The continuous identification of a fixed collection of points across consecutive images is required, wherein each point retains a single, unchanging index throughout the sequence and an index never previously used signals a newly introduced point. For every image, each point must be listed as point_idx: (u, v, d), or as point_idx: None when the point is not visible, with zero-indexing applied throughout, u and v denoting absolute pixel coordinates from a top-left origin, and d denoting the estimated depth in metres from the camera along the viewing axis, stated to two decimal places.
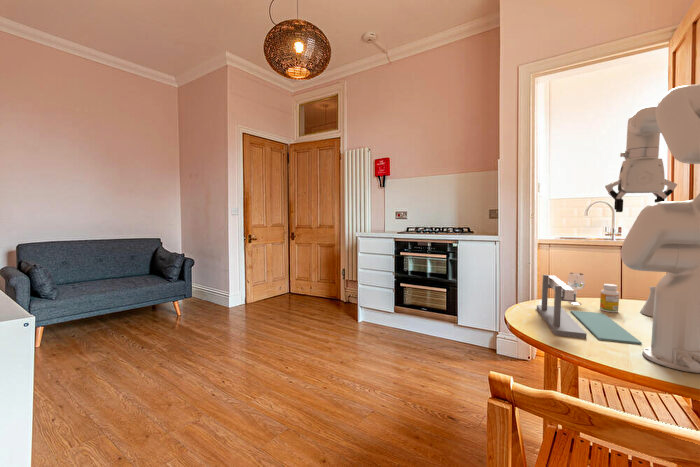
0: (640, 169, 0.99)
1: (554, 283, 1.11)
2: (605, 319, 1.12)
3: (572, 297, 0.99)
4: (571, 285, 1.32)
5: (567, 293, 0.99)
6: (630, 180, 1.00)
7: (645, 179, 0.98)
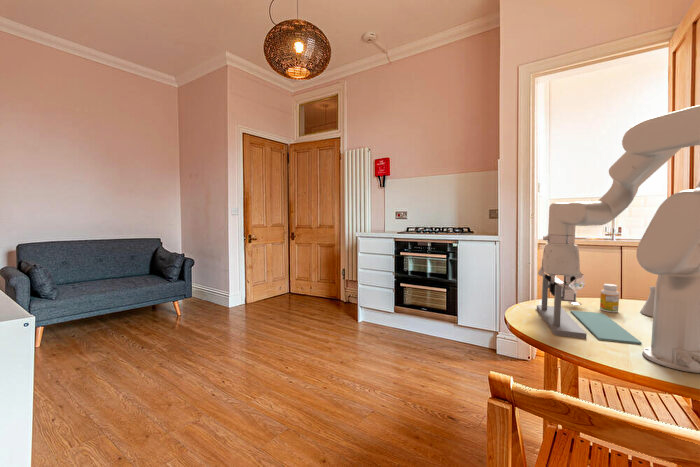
0: (558, 254, 1.07)
1: None
2: (605, 319, 1.12)
3: (572, 297, 0.99)
4: (571, 285, 1.32)
5: (567, 292, 0.99)
6: (550, 263, 1.08)
7: (563, 263, 1.07)
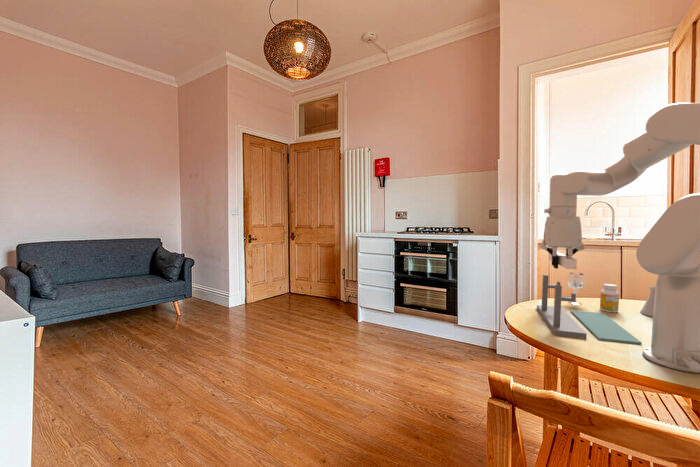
0: (560, 225, 1.07)
1: None
2: (605, 319, 1.12)
3: (575, 266, 0.98)
4: (571, 285, 1.32)
5: (570, 262, 0.98)
6: (552, 235, 1.07)
7: (564, 235, 1.06)
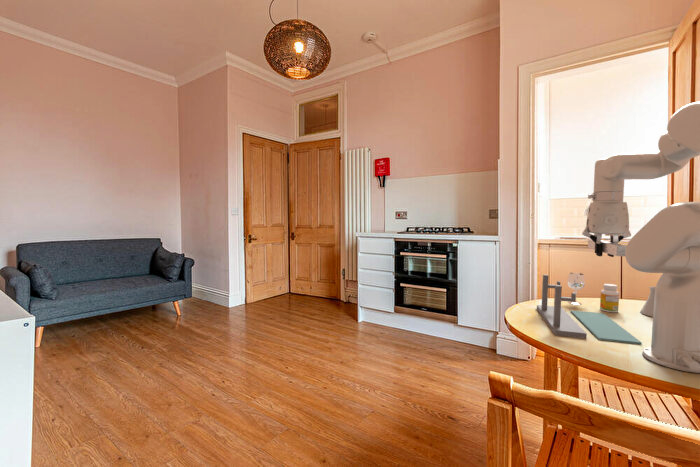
0: (606, 211, 1.02)
1: None
2: (605, 319, 1.12)
3: None
4: (571, 285, 1.32)
5: (619, 248, 0.94)
6: (596, 222, 1.03)
7: (611, 221, 1.02)
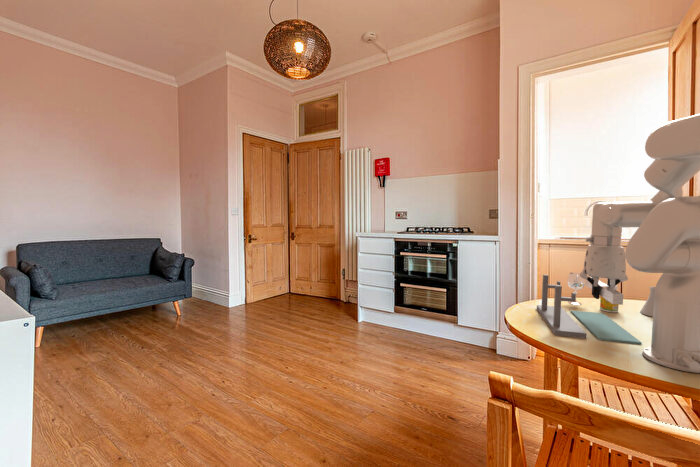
0: (603, 256, 1.03)
1: None
2: (605, 319, 1.12)
3: (621, 301, 0.95)
4: (571, 285, 1.32)
5: (616, 297, 0.95)
6: (594, 266, 1.04)
7: (608, 266, 1.03)
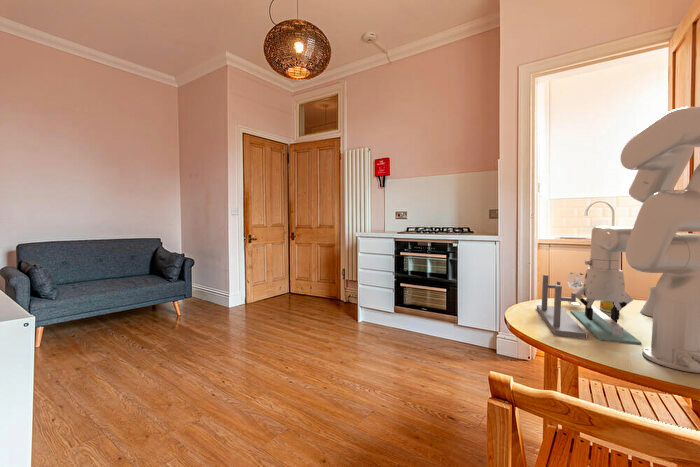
0: (602, 279, 1.04)
1: (597, 316, 1.08)
2: None
3: (621, 335, 0.95)
4: (571, 285, 1.32)
5: (616, 330, 0.96)
6: (593, 289, 1.05)
7: (607, 289, 1.03)
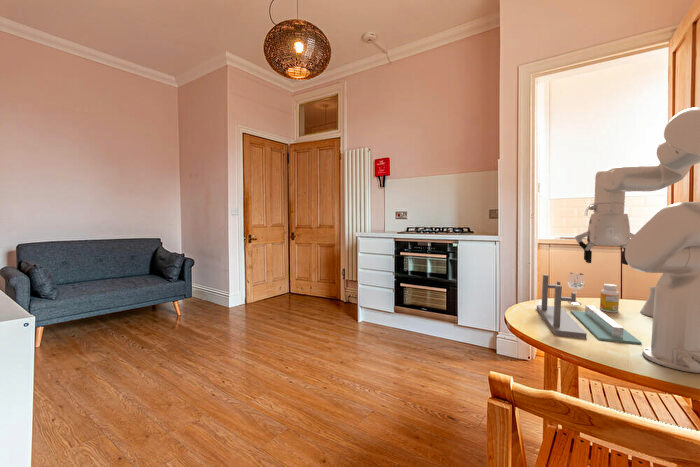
0: (607, 223, 1.02)
1: (597, 316, 1.08)
2: None
3: (621, 335, 0.95)
4: (571, 285, 1.32)
5: (616, 330, 0.96)
6: (598, 233, 1.03)
7: (612, 233, 1.02)
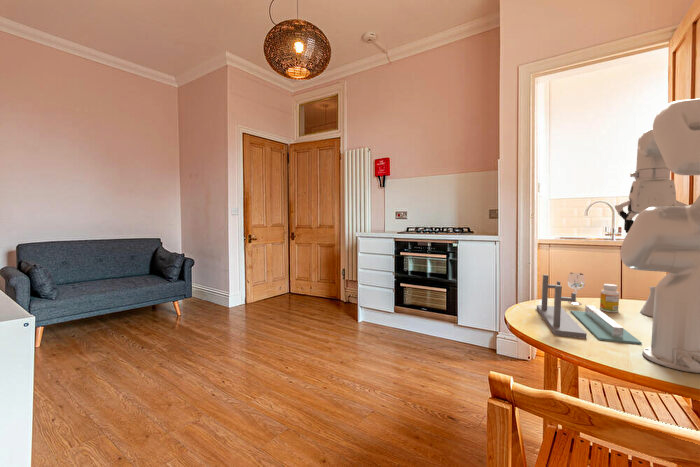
0: (651, 190, 0.97)
1: (597, 316, 1.08)
2: None
3: (621, 335, 0.95)
4: (571, 285, 1.32)
5: (616, 330, 0.96)
6: (641, 201, 0.98)
7: (656, 200, 0.96)
